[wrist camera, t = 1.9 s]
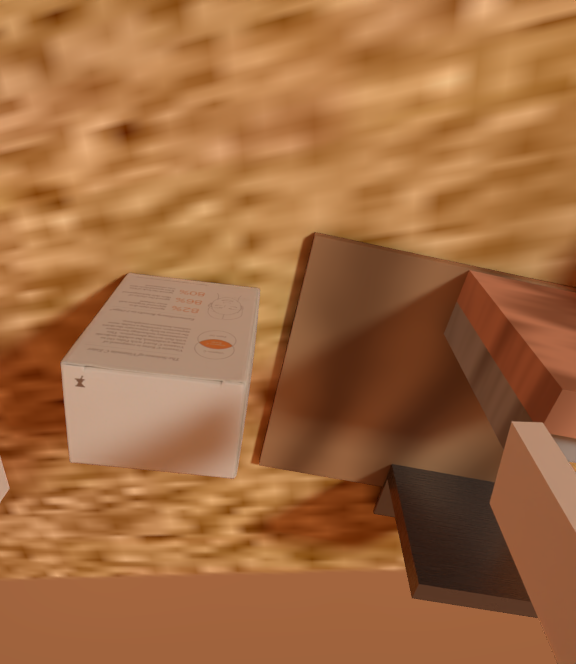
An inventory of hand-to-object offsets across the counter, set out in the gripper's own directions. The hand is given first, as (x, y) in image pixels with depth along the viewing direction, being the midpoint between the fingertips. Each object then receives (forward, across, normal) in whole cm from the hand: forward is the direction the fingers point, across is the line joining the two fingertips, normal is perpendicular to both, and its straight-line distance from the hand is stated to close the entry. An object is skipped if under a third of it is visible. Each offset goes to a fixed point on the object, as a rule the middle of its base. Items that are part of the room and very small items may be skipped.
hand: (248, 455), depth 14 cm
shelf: (+18, +10, -10) cm, 23 cm away
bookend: (+18, +12, -19) cm, 29 cm away
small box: (+19, -5, -5) cm, 20 cm away
